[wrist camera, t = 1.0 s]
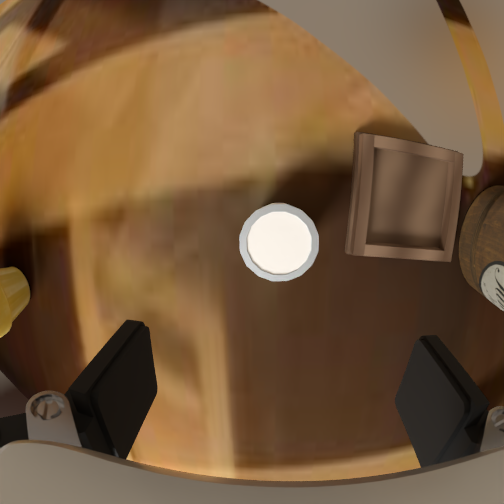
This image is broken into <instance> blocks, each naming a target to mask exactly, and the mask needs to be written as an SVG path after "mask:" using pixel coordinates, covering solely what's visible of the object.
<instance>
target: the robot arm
mask: <svg viewBox="0 0 504 504" xmlns="http://www.w3.org/2000/svg"><path fill="white" fill-rule="evenodd" d="M156 394H157V380H156V374H155V368H154V361H153V354H152V347H151V339H150V331H149V328H148V327H147V326H145V325H144V323H143V322H141V321H134V320H126V321H125V322H124V323H123V325H122V326H121V327H120V328H119V329H118V330H117V332H116V333H115V334H114V335H113V336H112V337H111V338H110V340H109V341H108V342H107V343H106V344H105V345H104V347H103V348H102V349H101V350H100V351H99V352H98V354H97V355H96V356H95V357H94V358H93V360H92V361H91V362H90V363H89V364H88V366H87V367H86V368H85V369H84V370H83V372H82V373H81V374H80V375H79V376H78V378H77V379H76V380H75V381H74V382H73V384H72V385H71V386H70V387H69V390H68V391H67V392H66V393H65V395H63V394H62V393H60V392H57V391H44V392H40V393H38V394H36V395H34V396H33V397H32V398H31V399H30V400H29V401H28V403H27V405H26V413H23V414H19V415H13V416H8V417H3V418H0V504H504V407H495V408H492V409H491V410H490V411H489V412H488V411H487V407H488V405H489V401H488V400H487V398H486V397H485V396H484V394H483V393H482V392H481V390H480V389H479V388H478V386H477V385H476V384H475V382H474V381H473V380H472V379H471V377H470V376H469V375H468V373H467V372H466V371H465V370H464V368H463V367H462V366H461V365H460V363H459V362H458V361H457V360H456V358H455V357H454V356H453V355H452V353H451V352H450V351H449V350H448V348H447V347H446V346H445V345H444V344H443V342H442V341H441V340H440V339H439V338H438V337H437V336H436V335H428V336H421V337H420V339H419V340H417V341H416V342H415V344H414V348H413V351H412V354H411V357H410V359H409V362H408V365H407V368H406V371H405V374H404V376H403V379H402V382H401V384H400V387H399V389H398V392H397V394H396V397H395V404H396V407H397V410H398V412H399V414H400V416H401V419H402V421H403V424H404V426H405V428H406V431H407V433H408V435H409V438H410V440H411V443H412V445H413V448H414V450H415V453H416V455H417V458H418V460H419V463H420V466H421V468H418V469H413V470H408V471H403V472H397V473H391V474H385V475H378V476H370V477H362V478H353V479H342V480H327V481H258V480H243V479H231V478H222V477H213V476H206V475H199V474H192V473H186V472H181V471H175V470H170V469H165V468H161V467H156V466H151V465H147V464H142V463H138V462H134V461H130V460H126V458H127V456H128V454H129V452H130V450H131V448H132V445H133V443H134V441H135V439H136V437H137V435H138V432H139V430H140V428H141V426H142V424H143V422H144V420H145V418H146V415H147V413H148V411H149V409H150V407H151V405H152V403H153V401H154V399H155V396H156Z"/></svg>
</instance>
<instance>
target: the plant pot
mask: <svg viewBox="0 0 504 504" xmlns="http://www.w3.org/2000/svg"><path fill="white" fill-rule="evenodd" d="M29 300H30V288H29V285H28V282H27V280H26V278H25V276H24V275H23V273H22V272H21V271H20V270H19V269H17V268H15V267H8V268H2V269H0V338H1V337H2V336H3V335H5V334H6V333H7V332H8V331H9V330H10V328H11V325H12V321H13V320H14V319H15V318H16V317H17V316H18V314H19V313H20V312H21V311H22V310H23V309H24V308H25V306H26V305H27V304H28V302H29Z"/></svg>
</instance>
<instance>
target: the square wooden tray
mask: <svg viewBox="0 0 504 504" xmlns="http://www.w3.org/2000/svg"><path fill="white" fill-rule="evenodd" d="M462 168H463V154H462V153H459V152H457V151H453V150H449V149H445V148H441V147H437V146H432V145H428V144H423V143H419V142H414V141H409V140H404V139H399V138H393V137H388V136H382V135H376V134H369V133H363V132H355V133H354V152H353V169H352V184H351V196H350V207H349V218H348V227H347V236H346V245H345V252H346V254H352V255H358V256H373V257H387V258H402V259H416V260H431V261H445V262H451V257H452V252H453V246H454V240H455V234H456V227H457V220H458V213H459V204H460V195H461V184H462V170H463V169H462Z"/></svg>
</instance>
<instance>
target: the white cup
mask: <svg viewBox="0 0 504 504" xmlns="http://www.w3.org/2000/svg"><path fill="white" fill-rule="evenodd" d="M239 239H240V253H241V255H242V257H243V259H244V261H245V263H246V265H247V266H248V267H249V268H250V269H251V270H252V271H253V272H254V273H255V274H256V275H257V276H260V277H262V278H265V279H268V280H270V281H288V280H291V279H293V278H296V277H298V276H301V275H302V274H303V273H304V272H305V271H306V270H307V269H308V268H309V267H310V266H311V265H312V264H313V262H314V260H315V257H316V255H317V253H318V246H319V235H318V233H317V230H316V228H315V225H314V223H313V221H312V220H311V219H310V218H309V217H308V216H307V215H306V214H305V213H304V212H303V211H302V210H300V209H298V208H295V207H293V206H290V205H288V204H285V203H271V204H269V205H267V206H265V207H262V208H260V209H258V210H256V211H255V212H254V213H253V214H252V215H251V216H250V217H249V218H248V219H247V220H246V221H245V223H244V226H243V228H242V231H241V234H240V236H239Z"/></svg>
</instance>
